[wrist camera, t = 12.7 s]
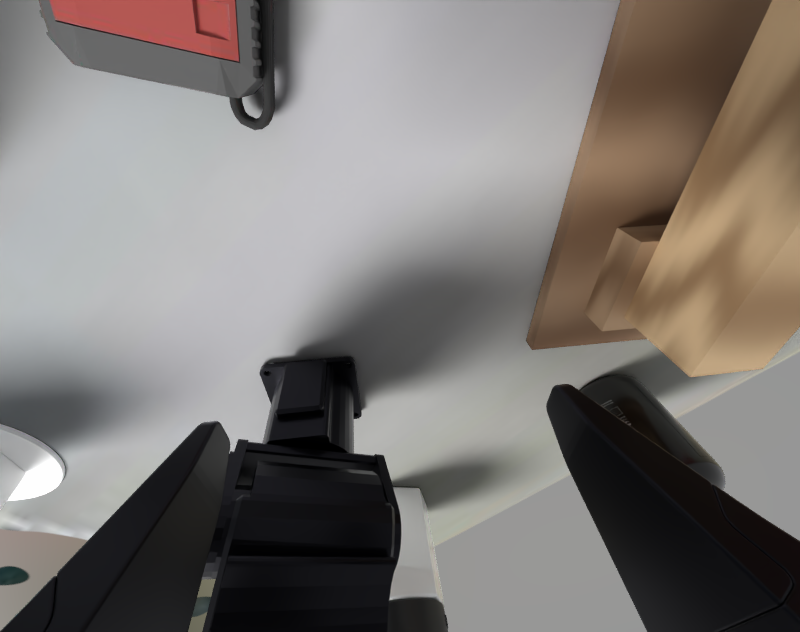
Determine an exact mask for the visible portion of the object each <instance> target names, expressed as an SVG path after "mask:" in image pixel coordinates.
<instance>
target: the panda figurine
mask: <svg viewBox="0 0 800 632" xmlns="http://www.w3.org/2000/svg"><path fill="white" fill-rule="evenodd" d="M64 476H65V466H64V463H63V461H62V459H61V458H60V457H59V456H58V454H57V453H56V452H55V451H53V450H52V449H51V448H50V447H48V446H47V445H46V444H44V443H43V442H41V441H39V440H38V439H36V438H34V437H32V436H30V435H28V434H26V433H24V432H21V431H19V430H17V429H14V428H11V427H8V426H6V425H2V424H0V510H1V509H2V507H3V506H4V505H5V503H6V502H7V501H11V500H22V499H28V498H33V497H37V496H41V495H44V494H46V493H48V492H50V491H52V490H53V489H55V488H56V487H57V486H58V485H59V484H60V482H61V481H62V480H63V478H64Z"/></svg>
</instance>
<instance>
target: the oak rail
mask: <svg viewBox="0 0 800 632" xmlns="http://www.w3.org/2000/svg"><path fill="white" fill-rule="evenodd" d="M624 318H625V319H626V320H627V321H628V322H630V323H631V324H632V325H633V326H634V327H635V328H636V329H637V330H638V331H639V332H641V333H642V334H643V335H644V336H645V337H646V338H647V339H648V340H649V341H650V342H652V343H653V344H654V345H655V346H656V347H657V348H658V349H659V350H660V351H661V352H663V353H664V354H665V355H666V356H667V357H668V358H669V359H670V360H671V361H673V362H674V363H675V364H676V365H677V366H678V367H679V368H680V369H681V370H682V371H684V372H685V373H686V374H687V375H688V376H689V377H697V376H706V375H714V374H723V373H731V372H740V371H749V370H757V369H763V368H764V367H765V366H766V365H767V364H768V362H769V361H770V360H771V359H772V358H773V357H774V356H775V354H776V353H777V352H778V351H779V350H780V349H781V348H782V346H783V345H784V344H785V343H786V342H787V341H788V340H789V338H790V337H791V336H792V335H793V334H794V333H795V332H796V331H797V329H798V328H799V327H800V0H772V2H771V4H770V6H769V8H768V10H767V12H766V15H765V17H764V19H763V21H762V23H761V25H760V27H759V30H758V32H757V34H756V36H755V38H754V40H753V42H752V45H751V47H750V49H749V51H748V53H747V55H746V57H745V60H744V62H743V64H742V66H741V68H740V70H739V72H738V75H737V77H736V79H735V81H734V83H733V85H732V87H731V90H730V92H729V94H728V96H727V98H726V100H725V102H724V105H723V107H722V109H721V111H720V113H719V115H718V117H717V120H716V122H715V124H714V126H713V128H712V130H711V132H710V134H709V137H708V139H707V141H706V143H705V145H704V147H703V149H702V152H701V154H700V156H699V158H698V160H697V162H696V164H695V167H694V169H693V171H692V173H691V175H690V177H689V179H688V182H687V184H686V186H685V188H684V190H683V192H682V194H681V197H680V199H679V201H678V203H677V205H676V207H675V209H674V212H673V214H672V216H671V218H670V220H669V222H668V224H667V227H666V229H665V231H664V233H663V235H662V237H661V239H660V242H659V244H658V246H657V248H656V250H655V252H654V254H653V257H652V259H651V261H650V263H649V265H648V267H647V269H646V272H645V274H644V276H643V278H642V280H641V282H640V284H639V287H638V289H637V291H636V293H635V295H634V297H633V299H632V302H631V304H630V306H629V308H628V310H627V312H626V314H625V317H624Z"/></svg>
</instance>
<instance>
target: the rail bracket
mask: <svg viewBox="0 0 800 632" xmlns="http://www.w3.org/2000/svg"><path fill="white" fill-rule="evenodd" d="M771 2H772V0H621V1H620V5H619V8H618V12H617V16H616V19H615V23H614V26H613V30H612V33H611V37H610V41H609V44H608V48H607V51H606V55H605V59H604V62H603V66H602V69H601V73H600V77H599V80H598V84H597V87H596V91H595V95H594V98H593V102H592V105H591V109H590V113H589V116H588V120H587V123H586V127H585V131H584V134H583V138H582V141H581V145H580V149H579V152H578V156H577V159H576V163H575V167H574V170H573V174H572V177H571V181H570V185H569V188H568V192H567V195H566V199H565V203H564V206H563V210H562V213H561V217H560V221H559V224H558V228H557V231H556V235H555V239H554V242H553V246H552V249H551V253H550V257H549V260H548V264H547V267H546V271H545V275H544V278H543V282H542V285H541V289H540V293H539V296H538V300H537V303H536V307H535V311H534V314H533V318H532V321H531V325H530V329H529V332H528V336H527V339H526V341H527V343H528V344H529V346H530V348H531V349H532V350H535V349H545V348H556V347H566V346H577V345H587V344H598V343H608V342H619V341H629V340H640V339H647V338H646V337H645V336H644V335H643V334H642V333H641V332H639V331H638V330H637V329H636V328H635V327H634V326H633V325H632V324H631V323H630V322H628V321H627V320H626V319H625V318H624V317H625V314H626V312H627V310H628V308H629V306H630V304H631V302H632V299H633V297H634V295H635V293H636V291H637V289H638V287H639V284H640V282H641V280H642V278H643V276H644V274H645V272H646V269H647V267H648V265H649V263H650V261H651V259H652V257H653V254H654V252H655V250H656V248H657V246H658V244H659V242H660V239H661V237H662V235H663V233H664V231H665V229H666V227H667V224H668V222H669V220H670V218H671V216H672V214H673V212H674V209H675V207H676V205H677V203H678V201H679V199H680V197H681V194H682V192H683V190H684V188H685V186H686V184H687V182H688V179H689V177H690V175H691V173H692V171H693V169H694V167H695V164H696V162H697V160H698V158H699V156H700V154H701V152H702V149H703V147H704V145H705V143H706V141H707V139H708V137H709V134H710V132H711V130H712V128H713V126H714V124H715V122H716V120H717V117H718V115H719V113H720V111H721V109H722V107H723V105H724V102H725V100H726V98H727V96H728V94H729V92H730V90H731V87H732V85H733V83H734V81H735V79H736V77H737V75H738V72H739V70H740V68H741V66H742V64H743V62H744V60H745V57H746V55H747V53H748V51H749V49H750V47H751V45H752V42H753V40H754V38H755V36H756V34H757V32H758V30H759V27H760V25H761V23H762V21H763V19H764V17H765V15H766V12H767V10H768V8H769V6H770V4H771Z"/></svg>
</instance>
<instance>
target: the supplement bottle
mask: <svg viewBox="0 0 800 632" xmlns="http://www.w3.org/2000/svg"><path fill="white" fill-rule="evenodd" d="M580 392H582V393H583V394H585V395H586V396H588V397H589V398H590V399H592V400H593V401H595V402H596V403H598V404H599V405H601V406H602V407H603V408H605V409H606V410H608V411H609V412H611V413H612V414H613V415H615V416H616V417H618V418H619V419H621V420H622V421H624V422H625V423H626V424H628V425H629V426H631V427H632V428H634V429H635V430H636V431H638V432H639V433H641V434H642V435H644V436H645V437H647V438H648V439H649V440H651V441H652V442H654V443H655V444H657V445H658V446H659V447H661V448H662V449H664V450H665V451H667V452H668V453H669V454H671V455H672V456H674V457H675V458H677V459H678V460H680V461H681V462H682V463H684V464H685V465H687V466H688V467H690V468H691V469H692V470H694V471H695V472H697V473H698V474H700V475H701V476H703V477H704V478H705V479H707V480H708V481H710V482H711V484H712V485H716V486H717V487H719V488H720V489H721V490H724V487H725V476H724V473H723V470H722V469H721V467H720V466H719V465H718V464H717V462H716V461H715V460H714V459H713V458H712V457H711V456H710V455H709V454H708V453H707V452H706V450H705V449H703V447H702V446H701V445H700V444H699V443H698V442H697V441H696V440H695V439H694V438H693V437H692V436H691V435H690V434H689V433H688V431H686V429H685V428H684V427H683V426H682V425H681V424H680V423H679V422H678V421H677V420H676V419H675V418H674V417H673V416H672V415H671V414H670V412H669V411H668V410H667V409H666V408H665V407H664V406H663V405H662V404H661V403H660V402H659V401H658V400H657V399H656V398H655V397H654V396H653V395H652V394H651V392H650V391H649V390H648V389H647V388H646V387H645V386H644V385H643V384H642V383H641V382H640V381H638V380H637V379H635V378H633V377H630V376H625V375H614V376H608V377H605V378H602V379H599V380H597V381H594V382H592V383H590V384H589V385H587V386H586V387H584V388H583V389H581V390H580Z"/></svg>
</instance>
